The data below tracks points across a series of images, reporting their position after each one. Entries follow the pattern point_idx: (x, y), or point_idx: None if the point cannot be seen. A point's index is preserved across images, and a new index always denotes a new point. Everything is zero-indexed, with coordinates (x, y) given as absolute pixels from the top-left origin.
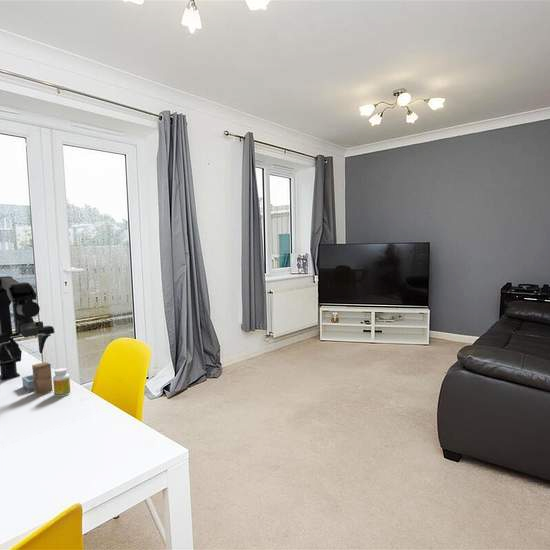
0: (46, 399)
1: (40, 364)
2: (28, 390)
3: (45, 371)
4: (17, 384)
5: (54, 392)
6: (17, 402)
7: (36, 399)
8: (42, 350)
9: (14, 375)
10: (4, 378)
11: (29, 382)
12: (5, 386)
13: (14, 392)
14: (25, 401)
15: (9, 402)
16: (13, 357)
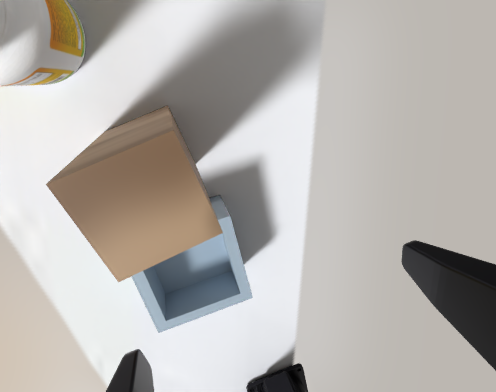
0: (132, 7)
1: (152, 222)
2: (221, 199)
3: (114, 145)
4: (257, 305)
5: (76, 20)
6: (269, 74)
7: (185, 52)
8: (108, 390)
9: (266, 382)
10: (295, 371)
11: (222, 216)
12: (295, 302)
13: (272, 219)
14: (236, 61)
15: (298, 100)
16: (431, 251)
